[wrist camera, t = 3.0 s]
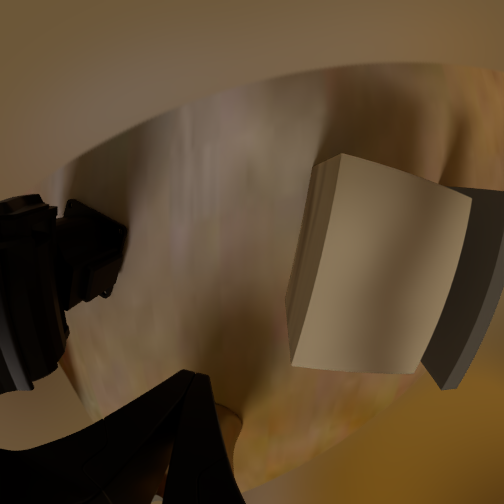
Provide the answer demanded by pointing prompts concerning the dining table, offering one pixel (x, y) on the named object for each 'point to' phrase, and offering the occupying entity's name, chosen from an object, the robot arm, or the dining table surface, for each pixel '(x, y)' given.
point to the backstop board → (470, 291)
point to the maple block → (371, 267)
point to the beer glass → (230, 433)
